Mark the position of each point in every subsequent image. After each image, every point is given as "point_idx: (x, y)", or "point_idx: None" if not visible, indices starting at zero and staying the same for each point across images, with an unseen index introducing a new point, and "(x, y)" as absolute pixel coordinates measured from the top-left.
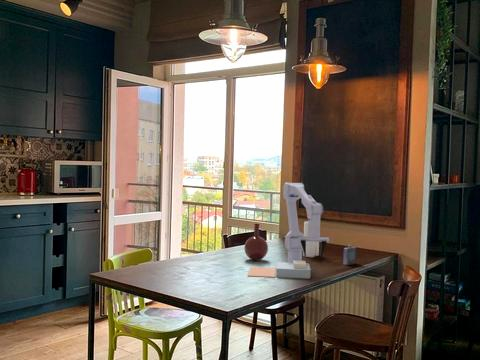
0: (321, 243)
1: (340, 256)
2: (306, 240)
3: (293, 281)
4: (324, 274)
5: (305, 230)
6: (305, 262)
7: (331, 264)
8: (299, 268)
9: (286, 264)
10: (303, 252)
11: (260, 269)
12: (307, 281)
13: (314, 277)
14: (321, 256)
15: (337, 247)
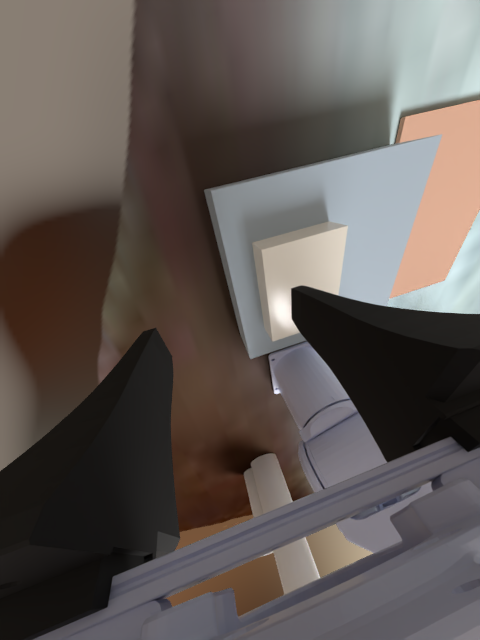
0: (107, 518)
1: (194, 492)
2: (447, 459)
3: (301, 7)
4: (163, 322)
5: (304, 546)
6: (269, 300)
7: (190, 441)
8: (292, 214)
9: (353, 288)
10: (278, 464)
11: (422, 263)
12: (200, 63)
13: (188, 234)
14: (144, 333)
15: (219, 516)
